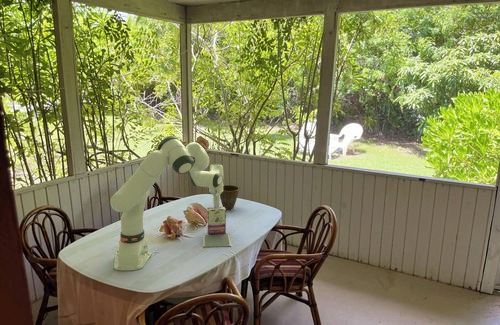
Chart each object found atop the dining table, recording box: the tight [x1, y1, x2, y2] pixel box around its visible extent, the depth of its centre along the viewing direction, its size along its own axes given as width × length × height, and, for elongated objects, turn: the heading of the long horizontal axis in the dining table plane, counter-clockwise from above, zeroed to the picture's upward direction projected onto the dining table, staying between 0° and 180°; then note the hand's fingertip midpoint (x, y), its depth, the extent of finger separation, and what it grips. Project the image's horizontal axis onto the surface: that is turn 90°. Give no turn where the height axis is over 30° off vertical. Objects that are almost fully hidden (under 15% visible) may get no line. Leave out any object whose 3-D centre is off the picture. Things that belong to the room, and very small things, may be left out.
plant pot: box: [219, 184, 240, 211], centre depth 261 cm, size 15×15×16 cm
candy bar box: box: [206, 206, 227, 235], centre depth 218 cm, size 11×5×16 cm, turn 103°
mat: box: [202, 233, 232, 248], centre depth 209 cm, size 16×16×1 cm
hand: (215, 209), depth 224 cm, fingers closed
